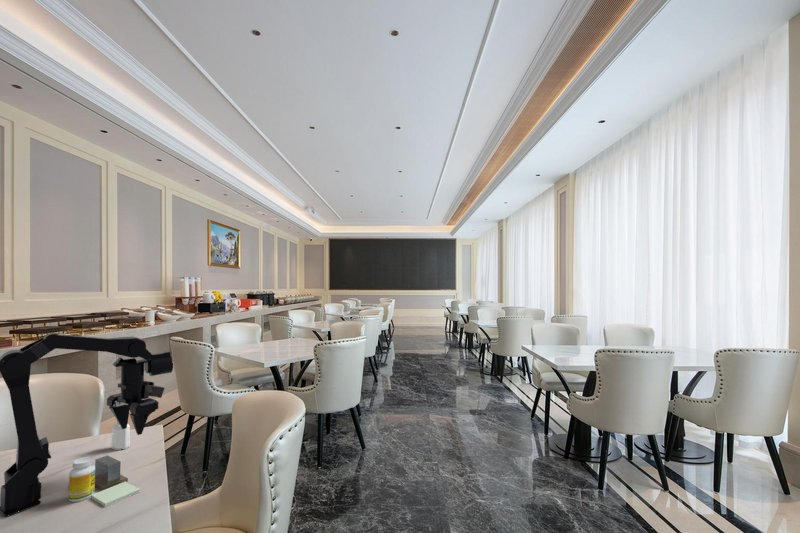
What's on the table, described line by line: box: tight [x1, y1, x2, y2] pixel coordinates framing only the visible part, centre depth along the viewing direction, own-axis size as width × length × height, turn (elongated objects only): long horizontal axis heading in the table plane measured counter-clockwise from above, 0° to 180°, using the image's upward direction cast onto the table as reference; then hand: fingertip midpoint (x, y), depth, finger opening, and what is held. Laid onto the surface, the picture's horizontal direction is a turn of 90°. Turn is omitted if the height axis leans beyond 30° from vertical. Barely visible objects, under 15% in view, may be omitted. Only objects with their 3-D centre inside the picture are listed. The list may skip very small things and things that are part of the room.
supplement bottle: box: [67, 456, 96, 503], centre depth 101 cm, size 5×5×10 cm
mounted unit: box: [94, 454, 129, 491], centre depth 109 cm, size 6×10×6 cm, turn 59°
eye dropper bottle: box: [111, 420, 131, 451], centre depth 132 cm, size 4×6×12 cm
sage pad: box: [90, 481, 141, 508], centre depth 102 cm, size 8×8×1 cm
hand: (131, 431), depth 114 cm, fingers open, 9 cm apart
